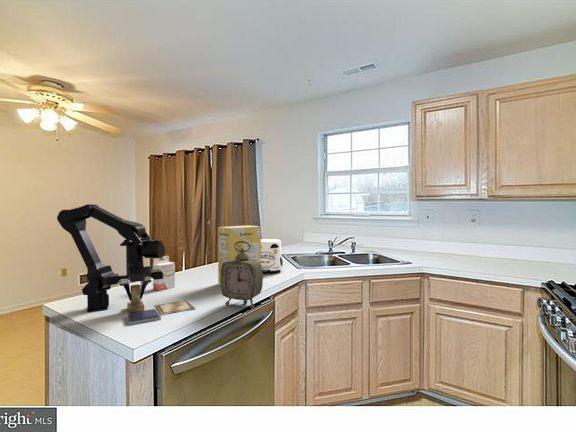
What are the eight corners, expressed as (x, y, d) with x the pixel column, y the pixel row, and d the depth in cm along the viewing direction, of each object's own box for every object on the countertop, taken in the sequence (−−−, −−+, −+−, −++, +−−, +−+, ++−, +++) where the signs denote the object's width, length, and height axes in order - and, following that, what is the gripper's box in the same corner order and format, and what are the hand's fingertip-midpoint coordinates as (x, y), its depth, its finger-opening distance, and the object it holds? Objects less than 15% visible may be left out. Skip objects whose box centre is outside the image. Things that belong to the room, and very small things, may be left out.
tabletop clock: (220, 306, 121) (220, 241, 120) (232, 299, 130) (231, 239, 129) (255, 310, 117) (254, 243, 116) (264, 303, 125) (264, 240, 124)
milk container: (260, 275, 174) (260, 243, 173) (248, 270, 189) (248, 239, 188) (288, 272, 182) (288, 241, 182) (274, 267, 198) (274, 238, 197)
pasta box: (248, 278, 168) (248, 225, 167) (260, 281, 161) (260, 226, 160) (218, 284, 156) (217, 227, 155) (230, 288, 148) (230, 228, 147)
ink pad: (128, 325, 103) (127, 321, 102) (125, 316, 110) (125, 312, 110) (160, 319, 108) (160, 315, 108) (156, 311, 115) (156, 308, 115)
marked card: (161, 315, 112) (161, 313, 112) (155, 305, 122) (155, 304, 122) (195, 309, 119) (195, 308, 119) (187, 300, 129) (187, 299, 129)
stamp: (129, 313, 114) (128, 288, 113) (127, 307, 119) (126, 284, 119) (144, 310, 116) (144, 286, 116) (141, 305, 122) (141, 282, 122)
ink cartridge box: (159, 291, 143) (158, 258, 142) (152, 289, 146) (152, 257, 145) (175, 287, 150) (175, 256, 149) (169, 285, 153) (168, 255, 152)
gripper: (106, 263, 105) (107, 310, 106) (166, 258, 115) (166, 301, 116) (105, 259, 115) (106, 301, 115) (160, 254, 125) (160, 294, 125)
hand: (135, 299), depth 118 cm, fingers closed on stamp, 3 cm apart
